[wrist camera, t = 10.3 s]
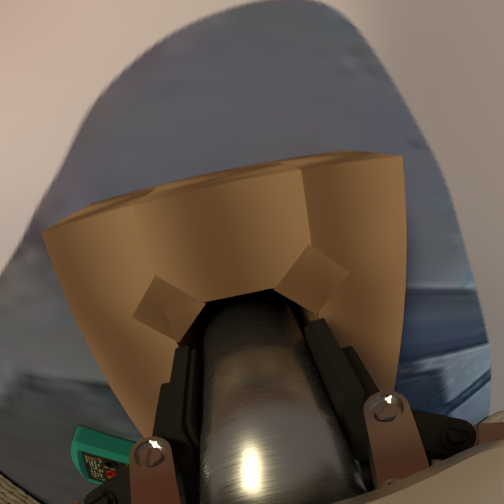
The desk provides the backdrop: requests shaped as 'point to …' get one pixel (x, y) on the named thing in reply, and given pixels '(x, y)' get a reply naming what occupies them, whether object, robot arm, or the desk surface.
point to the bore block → (237, 263)
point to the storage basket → (13, 493)
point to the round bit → (267, 412)
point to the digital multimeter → (99, 454)
